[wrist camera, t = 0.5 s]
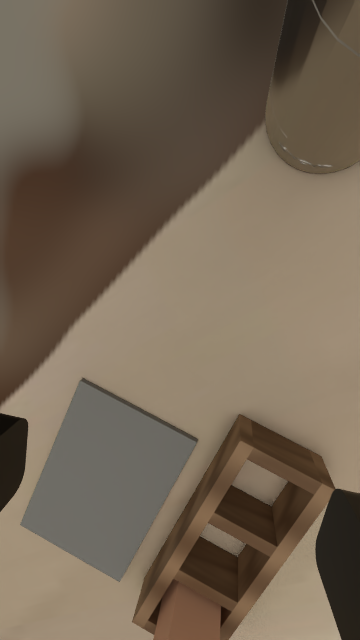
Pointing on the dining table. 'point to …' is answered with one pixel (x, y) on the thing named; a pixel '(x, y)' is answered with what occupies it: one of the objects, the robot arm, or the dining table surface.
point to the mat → (106, 479)
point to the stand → (238, 526)
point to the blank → (187, 615)
